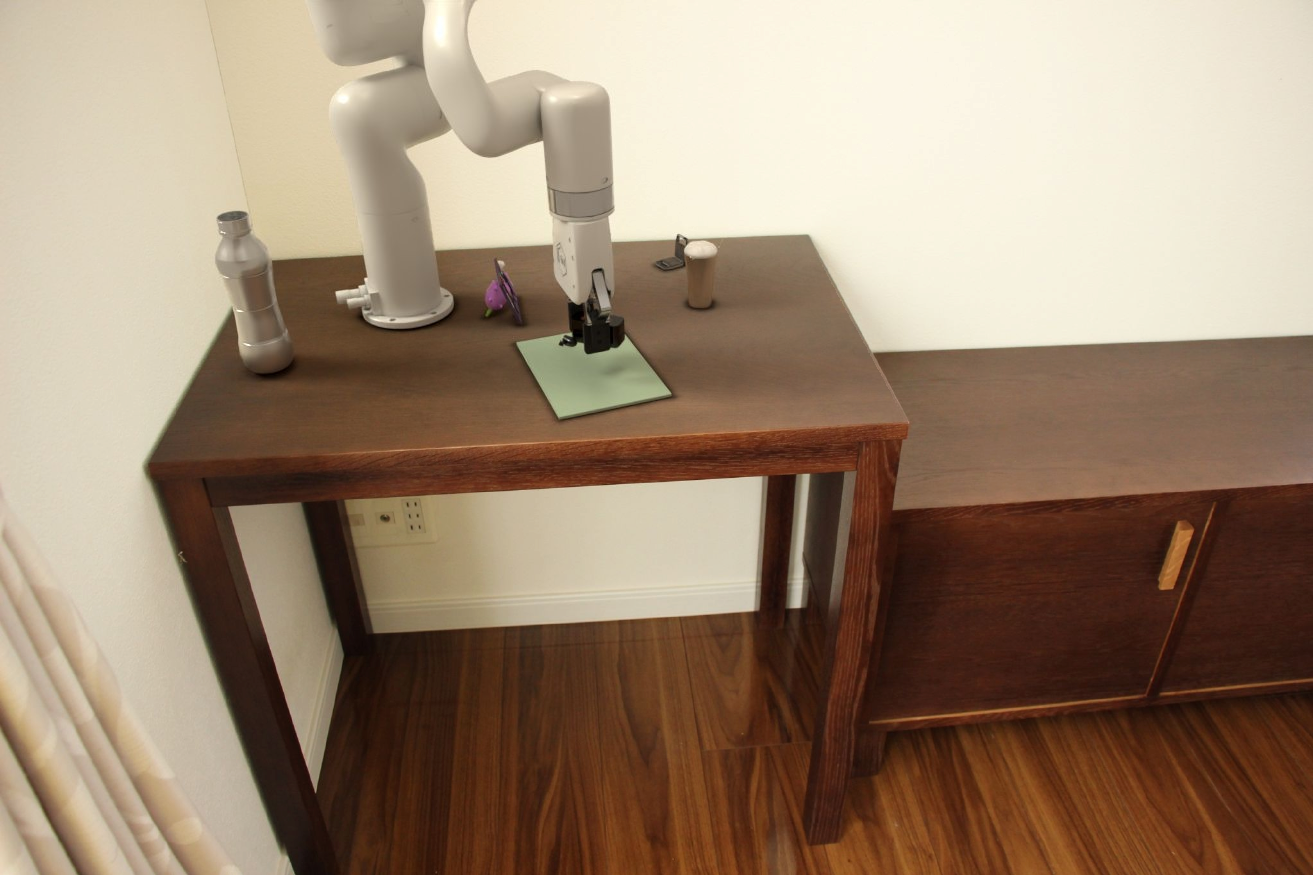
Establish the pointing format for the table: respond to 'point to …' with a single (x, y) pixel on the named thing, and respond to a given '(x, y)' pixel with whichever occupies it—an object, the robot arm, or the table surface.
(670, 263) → the strap clip
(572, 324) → the wireless earbuds
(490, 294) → the purple creature toy frame
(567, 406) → the desk mat
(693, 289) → the milkshake
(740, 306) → the table surface
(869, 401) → the table surface
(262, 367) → the plastic bottle
